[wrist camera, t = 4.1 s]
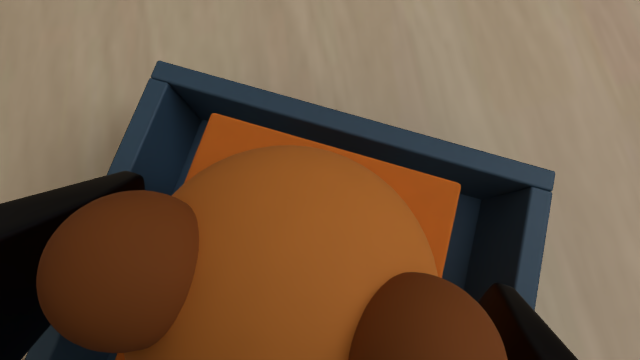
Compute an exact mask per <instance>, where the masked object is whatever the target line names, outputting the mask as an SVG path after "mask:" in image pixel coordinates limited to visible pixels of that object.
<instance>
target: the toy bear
mask: <svg viewBox="0 0 640 360" xmlns="http://www.w3.org/2000/svg"><path fill="white" fill-rule="evenodd" d="M460 190H461V184H459V183H457V182H454V181H451V180H447V179H444V178H440V177H437V176H433V175H430V174H426V173H423V172H419V171H416V170H412V169H409V168H405V167H402V166H398V165H395V164H391V163H388V162H384V161H381V160H377V159H374V158H370V157H367V156H363V155H360V154H356V153H353V152H349V151H346V150H342V149H339V148H336V147H332V146H329V145H325V144H322V143H318V142H315V141H311V140H308V139H304V138H301V137H297V136H294V135H290V134H287V133H283V132H280V131H276V130H273V129H269V128H266V127H262V126H259V125H255V124H252V123H248V122H245V121H241V120H238V119H234V118H231V117H227V116H224V115H220V114H217V113H212V114H211V116H210V118H209V121H208V123H207V126H206V128H205V131H204V133H203V136H202V139H201V141H200V144H199V146H198V149H197V151H196V154H195V156H194V159H193V161H192V164H191V167H190V169H189V172H188V174H187V177H186V179H185V182H184V184H183V185H182V186H181V187H180V188H179V189H178V190H177V191H176V192H175V193H174V194H173V195H172V196H170V195H168V194H164V193H159V192H155V191H146V190H135V191H123V192H117V193H114V194H110V195H107V196H104V197H101V198H98V199H96V200H94V201H92V202H90V203H88V204H87V205H85V206H83V207H81V208H80V209H78V210H77V211H75V212H74V213H73V214H71V215H70V216H69V217H68V218H67V219H66V220H65V221H64V222H63V223H62V224H61V225H60V226H59V227H58V228H57V230H56V231H55V232H54V233H53V235H52V236H51V238H50V239H49V240H48V242H47V244H46V246H45V248H44V250H43V253H42V255H41V258H40V261H39V265H38V270H37V277H36V288H37V296H38V300H39V303H40V306H41V309H42V311H43V313H44V315H45V317H46V318H47V320H48V322H49V323H50V324H51V325H52V326H53V327H54V329H55V330H56V331H57V332H58V333H60V334H61V335H62V336H63V337H64V338H66V339H67V340H69V341H70V342H72V343H74V344H76V345H79V346H81V347H84V348H86V349H89V350H93V351H97V352H106V353H117V356H116V358H115V360H508V359H507V355H506V351H505V347H504V344H503V342H502V339H501V336H500V334H499V332H498V330H497V328H496V327H495V325H494V323H493V321H492V320H491V318H490V317H489V316H488V314H487V313H486V311H485V310H484V309H483V308H482V307H481V305H480V304H479V303H478V302H477V301H476V300H475V299H473V298H472V297H471V296H470V295H469V294H468V293H467V292H466V291H464V290H463V289H461V288H460V287H458V286H457V285H455V284H453V283H451V282H449V281H447V280H445V279H443V278H442V275H443V270H444V265H445V260H446V256H447V251H448V246H449V242H450V237H451V232H452V227H453V223H454V218H455V213H456V209H457V204H458V199H459V194H460Z"/></svg>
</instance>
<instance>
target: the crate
mask: <svg viewBox="0 0 640 360" xmlns="http://www.w3.org/2000/svg"><path fill="white" fill-rule="evenodd" d="M212 113H217V114H220V115H224V116H227V117H231V118H234V119H238V120H241V121H245V122H248V123H252V124H255V125H259V126H262V127H266V128H269V129H273V130H276V131H280V132H283V133H287V134H290V135H294V136H297V137H301V138H304V139H308V140H311V141H315V142H318V143H322V144H325V145H329V146H332V147H336V148H339V149H342V150H346V151H349V152H353V153H356V154H360V155H363V156H367V157H370V158H374V159H377V160H381V161H384V162H388V163H391V164H395V165H398V166H402V167H405V168H409V169H412V170H416V171H419V172H423V173H426V174H430V175H433V176H437V177H440V178H444V179H447V180H451V181H454V182H457V183H459V184H461V190H460V194H459V199H458V204H457V209H456V213H455V218H454V223H453V227H452V232H451V237H450V242H449V246H448V251H447V256H446V260H445V265H444V270H443V275H442V278H443V279H445V280H447V281H449V282H451V283H453V284H455V285H457V286H458V287H460V288H461V289H463V290H464V291H466V292H467V293H468V294H469V295H470V296H471V297H472V298H473V299H475V300H476V301H477V302H478V301H479V299H480V298H481V297H482V296H483V294H484V293H485V292H486V291H487V289H488V288H489V287H490V286H491V285H492V284H493V283H495V282H497V283H501V284H505V285H508V286H511V287H513V288H514V289H515V290H516V291H517V292H518V293H519V294H520V295H521V296H522V297H523V299H524V300H525V301H526V302H527V303H528V304H529V305H530V306H531V308H532V309H533V310H535V303H536V297H537V290H538V284H539V277H540V271H541V264H542V258H543V251H544V245H545V238H546V232H547V225H548V218H549V212H550V205H551V199H552V192H551V191H552V190H553V184H554V178H555V172H554V171H551V170H547V169H544V168H540V167H537V166H533V165H529V164H526V163H522V162H519V161H515V160H512V159H508V158H504V157H501V156H497V155H494V154H490V153H487V152H483V151H479V150H476V149H472V148H469V147H465V146H462V145H458V144H455V143H451V142H447V141H444V140H440V139H437V138H433V137H430V136H426V135H422V134H419V133H415V132H412V131H408V130H405V129H401V128H398V127H394V126H390V125H387V124H383V123H380V122H376V121H373V120H369V119H365V118H362V117H358V116H355V115H351V114H348V113H344V112H340V111H337V110H333V109H330V108H326V107H323V106H319V105H316V104H312V103H308V102H305V101H301V100H298V99H294V98H291V97H287V96H283V95H280V94H276V93H273V92H269V91H266V90H262V89H259V88H255V87H251V86H248V85H244V84H241V83H237V82H234V81H230V80H226V79H223V78H219V77H216V76H212V75H209V74H205V73H202V72H198V71H194V70H191V69H187V68H184V67H180V66H177V65H173V64H169V63H166V62H162V61H158V62H157V63H156V66H155V68H154V70H153V72H152V75H151V78H150V79H149V81H148V83H147V85H146V88H145V90H144V92H143V94H142V97H141V99H140V101H139V103H138V106H137V108H136V110H135V112H134V115H133V117H132V119H131V121H130V124H129V126H128V128H127V130H126V133H125V135H124V137H123V139H122V142H121V144H120V146H119V148H118V151H117V153H116V155H115V157H114V160H113V162H112V164H111V166H110V169H109V171H108V173H107V175H111V174H114V173H118V172H122V171H130V172H133V173H137V174H140V175H141V176H142V177H143V178H144V183H145V190H146V191H155V192H159V193H164V194H168V195H170V196H172V195H173V194H174V193H175V192H176V191H177V190H178V189H179V188H180V187H181V186H182V185H183V184H184V182H185V179H186V177H187V174H188V172H189V169H190V167H191V164H192V161H193V159H194V156H195V154H196V151H197V149H198V146H199V144H200V141H201V139H202V136H203V133H204V131H205V128H206V126H207V123H208V121H209V118H210V116H211V114H212ZM107 175H106V176H107ZM116 356H117V353H106V352H97V351H93V350H89V349H86V348H84V347H81V346H79V345H76V344H74V343H72V342H70V341H69V340H67V339H66V338H64V337H63V336H62V335H61V334H60V333H58V332H57V331H56V330H55V329H54V327H53V326H52V325H50V326H49V328H48V329H47V330H46V331H45V332H44V333H43V335H42V336H41V337H40V338H39V339H38V340H37V341H36V343H35V344H34V345H33V346H32V347H31V348H30V349H29V351H28V353H27V356H26V358H25V360H115V358H116Z"/></svg>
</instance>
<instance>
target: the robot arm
mask: <svg viewBox="0 0 640 360" xmlns="http://www.w3.org/2000/svg"><path fill="white" fill-rule="evenodd" d="M135 190H145V183H144V178H143V177H142V176H141V175H140V174H137V173H133V172H130V171H122V172H118V173H114V174H111V175H107V176H103V177H99V178H96V179H92V180H88V181H84V182H81V183H77V184H73V185H69V186H65V187H62V188H58V189H54V190H50V191H47V192H43V193H39V194H35V195H32V196H28V197H24V198H20V199H17V200H13V201H9V202H5V203H2V204H0V360H21V359H22V357H23V356H24V355H25V354H26V353H27V352H28V351H29V349H30V348H31V347H32V346H33V345H34V344H35V343H36V341H37V340H38V339H39V338H40V337H41V336H42V335H43V333H44V332H45V331H46V330H47V329H48V328H49V326H50V325H51V324H50V323H49V322H48V320H47V318H46V317H45V315H44V313H43V311H42V309H41V306H40V303H39V300H38V296H37V288H36V277H37V270H38V265H39V261H40V258H41V255H42V253H43V250H44V248H45V246H46V244H47V242H48V240H49V239H50V238H51V236H52V235H53V233H54V232H55V231H56V230H57V228H58V227H59V226H60V225H61V224H62V223H63V222H64V221H65V220H66V219H67V218H68V217H69V216H70V215H71V214H73V213H74V212H75V211H77V210H78V209H80V208H81V207H83V206H85V205H87V204H88V203H90V202H92V201H94V200H96V199H98V198H101V197H104V196H107V195H110V194H114V193H117V192H123V191H135ZM478 303H479V304H480V305H481V307H482V308H483V309H484V310H485V311H486V313H487V314H488V316H489V317H490V318H491V320H492V321H493V323H494V325H495V327H496V328H497V330H498V332H499V334H500V336H501V339H502V342H503V344H504V347H505V351H506V355H507V359H508V360H578V359H577V358H576V357H575V356H574V355H573V353H572V352H571V351H570V350H569V349H568V348H567V347H566V346H565V345H564V343H563V342H562V341H561V340H560V339H559V338H558V337H557V336H556V334H555V333H554V332H553V331H552V330H551V329H550V328H549V327H548V325H547V324H546V323H545V322H544V321H543V320H542V319H541V318H540V317H539V315H538V314H537V313H536V312H535V311H534V310H533V309H532V308H531V306H530V305H529V304H528V303H527V302H526V301H525V300H524V299H523V297H522V296H521V295H520V294H519V293H518V292H517V291H516V290H515V289H514V288H513V287H511V286H508V285H505V284H501V283H497V282H495V283H493V284H492V285H491V286H490V287H489V288H488V289H487V291H486V292H485V293H484V294H483V296H482V297H481V298H480V299H479V301H478Z"/></svg>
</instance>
